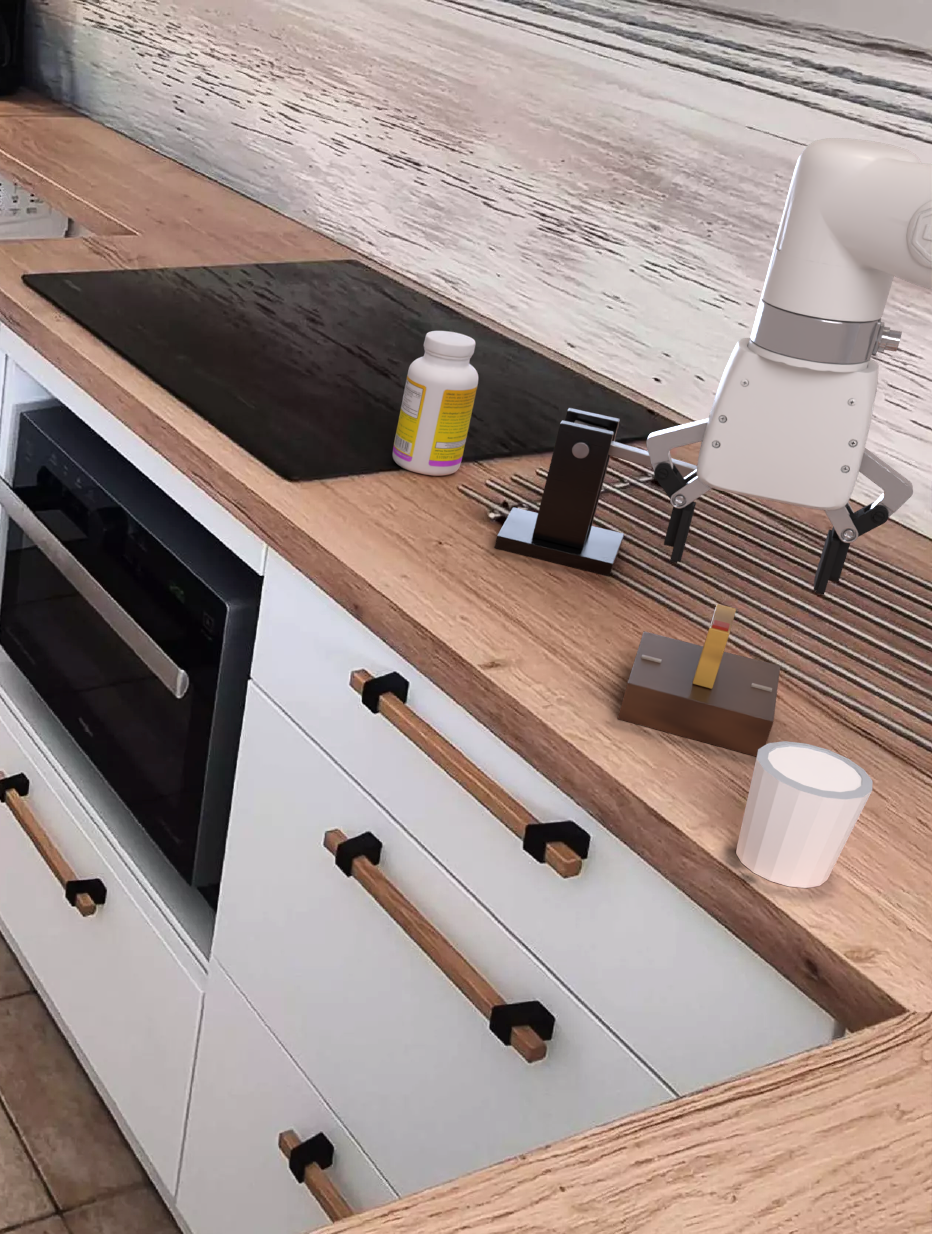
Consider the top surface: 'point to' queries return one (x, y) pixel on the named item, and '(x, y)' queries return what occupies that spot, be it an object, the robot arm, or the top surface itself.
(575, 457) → the handle bracket
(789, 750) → the shot glass
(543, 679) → the top surface
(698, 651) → the plate
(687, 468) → the door handle
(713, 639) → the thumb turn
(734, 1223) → the top surface
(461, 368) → the supplement bottle
